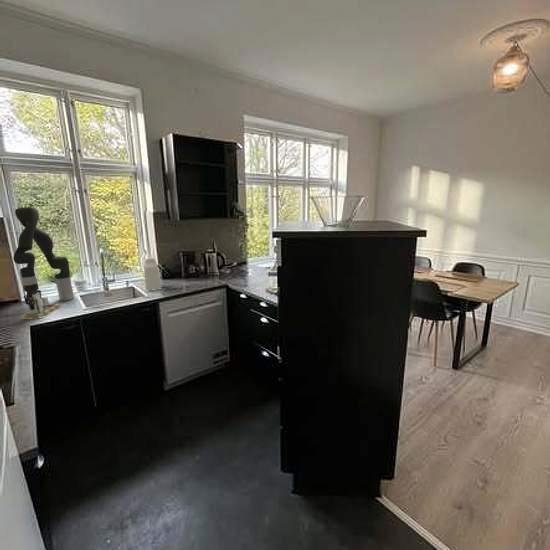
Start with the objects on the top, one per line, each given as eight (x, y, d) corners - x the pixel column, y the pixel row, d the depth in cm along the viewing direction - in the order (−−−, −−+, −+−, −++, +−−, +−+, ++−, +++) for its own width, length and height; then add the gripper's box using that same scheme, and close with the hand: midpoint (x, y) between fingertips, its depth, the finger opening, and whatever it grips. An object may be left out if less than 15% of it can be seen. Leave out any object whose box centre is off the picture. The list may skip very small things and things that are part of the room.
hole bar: (42, 308, 216) (41, 304, 216) (60, 306, 218) (60, 303, 217) (21, 319, 194) (20, 316, 194) (42, 318, 196) (41, 314, 195)
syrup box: (30, 316, 197) (24, 295, 194) (34, 313, 203) (29, 292, 199) (40, 315, 199) (35, 294, 195) (44, 312, 204) (39, 291, 201)
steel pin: (45, 309, 213) (42, 297, 211) (51, 309, 213) (48, 296, 211) (42, 311, 209) (39, 298, 207) (48, 310, 210) (45, 298, 208)
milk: (146, 291, 250) (142, 260, 244) (146, 288, 260) (142, 258, 254) (161, 289, 254) (158, 259, 248) (161, 286, 265) (157, 256, 259)
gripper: (30, 281, 202) (36, 304, 206) (16, 286, 188) (22, 312, 192) (43, 280, 203) (48, 304, 207) (29, 285, 189) (35, 311, 193)
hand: (35, 307), depth 200 cm, fingers closed on syrup box, 6 cm apart
